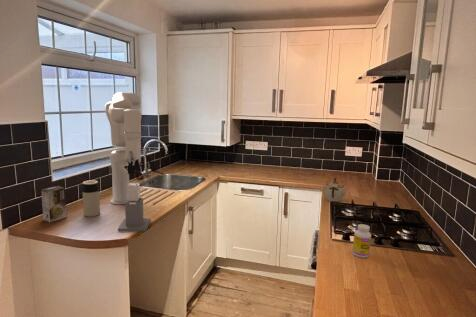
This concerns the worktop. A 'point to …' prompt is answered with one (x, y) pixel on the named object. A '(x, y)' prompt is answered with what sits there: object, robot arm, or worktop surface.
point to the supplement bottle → (362, 241)
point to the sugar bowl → (334, 191)
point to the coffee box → (54, 203)
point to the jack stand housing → (134, 217)
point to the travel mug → (91, 198)
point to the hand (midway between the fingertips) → (133, 171)
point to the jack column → (133, 192)
